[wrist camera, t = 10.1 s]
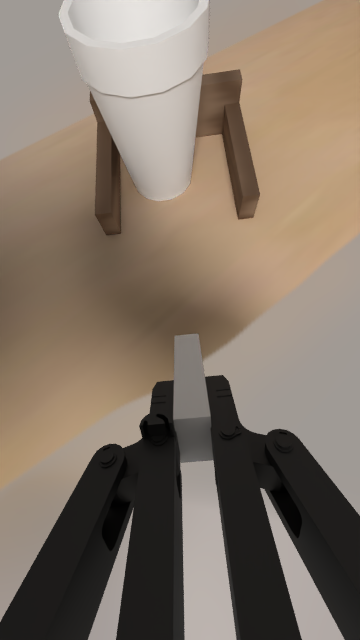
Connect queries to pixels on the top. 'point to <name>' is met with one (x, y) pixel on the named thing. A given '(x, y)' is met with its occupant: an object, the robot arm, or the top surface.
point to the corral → (213, 118)
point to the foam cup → (144, 81)
